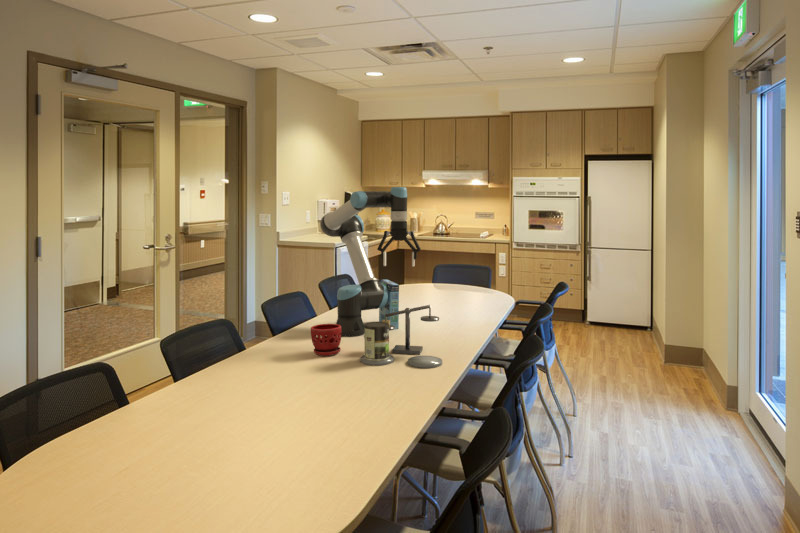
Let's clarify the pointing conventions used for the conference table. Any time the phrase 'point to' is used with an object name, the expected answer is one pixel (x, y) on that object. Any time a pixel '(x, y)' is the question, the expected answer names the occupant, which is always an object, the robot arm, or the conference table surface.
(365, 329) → the coffee can
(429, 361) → the dish right
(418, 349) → the balance
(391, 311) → the gum box
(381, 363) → the dish left
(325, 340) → the plant pot
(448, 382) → the conference table surface
